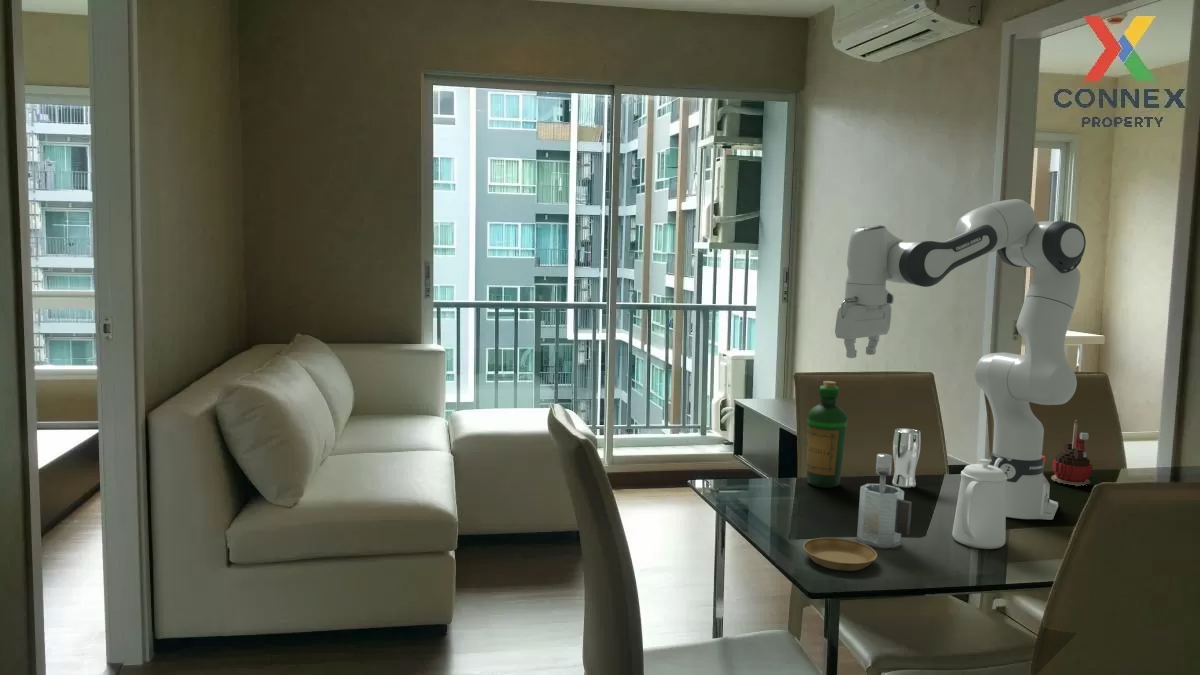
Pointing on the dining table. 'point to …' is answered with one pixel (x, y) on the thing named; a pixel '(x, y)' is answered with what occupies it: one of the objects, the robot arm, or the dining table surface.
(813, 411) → the bottle
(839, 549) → the plant saucer
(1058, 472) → the cake
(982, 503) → the coffeepot
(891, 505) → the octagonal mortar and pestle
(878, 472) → the dumbbell
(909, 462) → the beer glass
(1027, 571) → the dining table surface
